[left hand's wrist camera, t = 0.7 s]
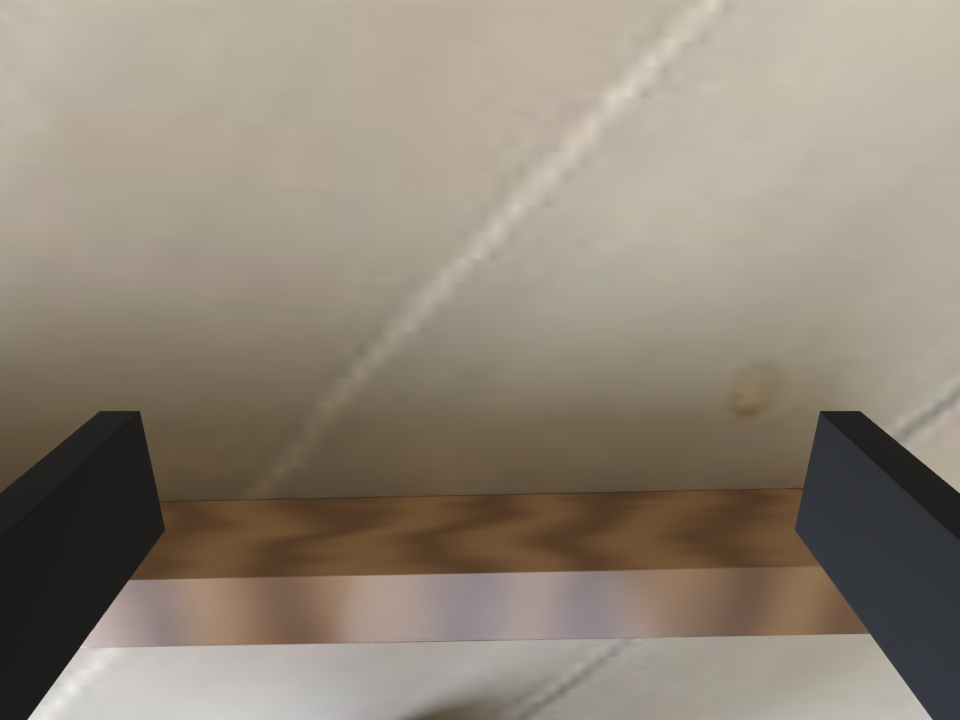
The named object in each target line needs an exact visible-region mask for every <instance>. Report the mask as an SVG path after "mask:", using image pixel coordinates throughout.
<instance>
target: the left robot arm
mask: <svg viewBox="0 0 960 720" xmlns="http://www.w3.org/2000/svg"><path fill="white" fill-rule="evenodd" d="M164 531H165V526H164V521H163V516H162V512H161V507H160V502H159V498H158V493H157V489H156V484H155V479H154V475H153V470H152V465H151V461H150V456H149V452H148V447H147V442H146V438H145V433H144V429H143V424H142V419H141V415H140V411H100V412H98V413H97V414H96V415H95V416H94V417H92V418H91V419H90V420H89V421H88V422H86V423H85V424H84V425H83V426H82V427H80V428H79V429H78V430H77V431H75V432H74V433H73V434H72V435H71V436H69V437H68V438H67V439H66V440H65V441H63V442H62V443H61V444H60V445H58V446H57V447H56V448H55V449H54V450H52V451H51V452H50V453H49V454H48V455H46V456H45V457H44V458H43V459H41V460H40V461H39V462H38V463H37V464H35V465H34V466H33V467H32V468H31V469H29V470H28V471H27V472H26V473H25V474H23V475H22V476H21V477H20V478H18V479H17V480H16V481H15V482H14V483H12V484H11V485H10V486H9V487H8V488H6V489H5V490H4V491H3V492H1V493H0V720H27V719H28V718H29V717H30V715H31V714H32V713H33V711H34V710H35V708H36V707H37V706H38V704H39V703H40V702H41V700H42V699H43V697H44V696H45V695H46V693H47V692H48V691H49V689H50V688H51V686H52V685H53V684H54V682H55V681H56V680H57V678H58V677H59V675H60V674H61V673H62V671H63V670H64V669H65V667H66V666H67V665H68V663H69V662H70V660H71V659H72V658H73V656H74V655H75V654H76V652H77V651H78V649H79V648H80V647H81V645H82V644H83V643H84V641H85V640H86V638H87V637H88V636H89V634H90V633H91V632H92V630H93V629H94V627H95V626H96V625H97V623H98V622H99V621H100V619H101V618H102V616H103V615H104V614H105V612H106V611H107V610H108V608H109V607H110V605H111V604H112V603H113V601H114V600H115V599H116V597H117V596H118V594H119V593H120V592H121V590H122V589H123V588H124V586H125V585H126V583H127V582H128V581H129V579H130V578H131V577H132V575H133V574H134V572H135V571H136V570H137V568H138V567H139V566H140V564H141V563H142V562H143V560H144V559H145V557H146V556H147V555H148V553H149V552H150V551H151V549H152V548H153V546H154V545H155V544H156V542H157V541H158V540H159V538H160V537H161V535H162V534H163V533H164ZM795 531H796V533H797V534H798V535H799V537H800V538H801V540H802V541H803V542H804V544H805V545H806V546H807V548H808V549H809V551H810V552H811V553H812V555H813V556H814V557H815V559H816V560H817V562H818V563H819V564H820V566H821V567H822V568H823V570H824V571H825V572H826V574H827V575H828V577H829V578H830V579H831V581H832V582H833V583H834V585H835V586H836V588H837V589H838V590H839V592H840V593H841V594H842V596H843V597H844V599H845V600H846V601H847V603H848V604H849V605H850V607H851V608H852V610H853V611H854V612H855V614H856V615H857V616H858V618H859V619H860V621H861V622H862V623H863V625H864V626H865V627H866V629H867V630H868V632H869V633H870V634H871V636H872V637H873V638H874V640H875V641H876V643H877V644H878V645H879V647H880V648H881V649H882V651H883V652H884V654H885V655H886V656H887V658H888V659H889V660H890V662H891V663H892V665H893V666H894V667H895V669H896V670H897V671H898V673H899V674H900V675H901V677H902V678H903V680H904V681H905V682H906V684H907V685H908V686H909V688H910V689H911V691H912V692H913V693H914V695H915V696H916V697H917V699H918V700H919V702H920V703H921V704H922V706H923V707H924V708H925V710H926V711H927V713H928V714H929V715H930V717H931V718H932V719H933V720H960V493H959V492H957V491H956V490H955V489H954V488H952V487H951V486H950V485H949V484H948V483H946V482H945V481H944V480H943V479H942V478H940V477H939V476H938V475H937V474H935V473H934V472H933V471H932V470H931V469H929V468H928V467H927V466H926V465H925V464H923V463H922V462H921V461H920V460H919V459H917V458H916V457H915V456H914V455H912V454H911V453H910V452H909V451H908V450H906V449H905V448H904V447H903V446H902V445H900V444H899V443H898V442H897V441H895V440H894V439H893V438H892V437H891V436H889V435H888V434H887V433H886V432H885V431H883V430H882V429H881V428H880V427H878V426H877V425H876V424H875V423H874V422H872V421H871V420H870V419H869V418H868V417H866V416H865V415H864V414H863V413H862V412H860V411H820V415H819V419H818V424H817V429H816V433H815V438H814V442H813V447H812V452H811V456H810V461H809V465H808V470H807V475H806V479H805V484H804V489H803V493H802V498H801V502H800V507H799V512H798V516H797V521H796V526H795Z"/></svg>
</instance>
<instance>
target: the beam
mask: <svg viewBox="0 0 960 720" xmlns="http://www.w3.org/2000/svg"><path fill="white" fill-rule="evenodd" d="M802 493H803V489H759V490H711V491H664V492H616V493H568V494H521V495H473V496H425V497H378V498H330V499H283V500H235V501H187V502H160V507H161V512H162V516H163V521H164V526H165V531H164V533H163V534H162V535H161V537H160V538H159V540H158V541H157V542H156V544H155V545H154V546H153V548H152V549H151V551H150V552H149V553H148V555H147V556H146V557H145V559H144V560H143V562H142V563H141V564H140V566H139V567H138V568H137V570H136V571H135V572H134V574H133V575H132V577H131V578H130V579H129V581H128V582H127V583H126V585H125V586H124V588H123V589H122V590H121V592H120V593H119V594H118V596H117V597H116V599H115V600H114V601H113V603H112V604H111V605H110V607H109V608H108V610H107V611H106V612H105V614H104V615H103V616H102V618H101V619H100V621H99V622H98V623H97V625H96V626H95V627H94V629H93V630H92V632H91V633H90V634H89V636H88V637H87V638H86V640H85V641H84V643H83V644H82V645H81V647H80V648H110V647H165V646H220V645H275V644H329V643H384V642H439V641H494V640H549V639H604V638H659V637H714V636H768V635H823V634H870V633H869V632H868V630H867V629H866V627H865V626H864V625H863V623H862V622H861V621H860V619H859V618H858V616H857V615H856V614H855V612H854V611H853V610H852V608H851V607H850V605H849V604H848V603H847V601H846V600H845V599H844V597H843V596H842V594H841V593H840V592H839V590H838V589H837V588H836V586H835V585H834V583H833V582H832V581H831V579H830V578H829V577H828V575H827V574H826V572H825V571H824V570H823V568H822V567H821V566H820V564H819V563H818V562H817V560H816V559H815V557H814V556H813V555H812V553H811V552H810V551H809V549H808V548H807V546H806V545H805V544H804V542H803V541H802V540H801V538H800V537H799V535H798V534H797V533H796V531H795V526H796V521H797V516H798V512H799V507H800V502H801V498H802Z"/></svg>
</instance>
